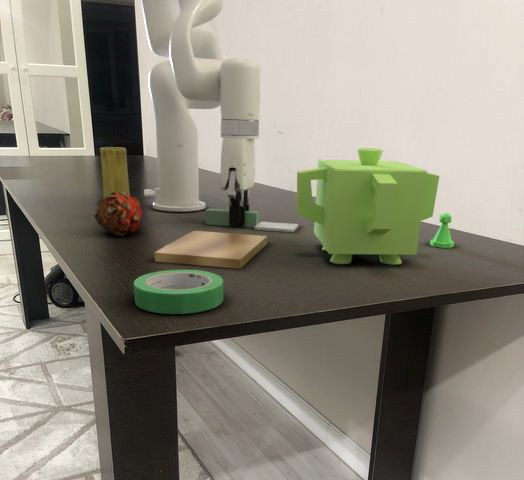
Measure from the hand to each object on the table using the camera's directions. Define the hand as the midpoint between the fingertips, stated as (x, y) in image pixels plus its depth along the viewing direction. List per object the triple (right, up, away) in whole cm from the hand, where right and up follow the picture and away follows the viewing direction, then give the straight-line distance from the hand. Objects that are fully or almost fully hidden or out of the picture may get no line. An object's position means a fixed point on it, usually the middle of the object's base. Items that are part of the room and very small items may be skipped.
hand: (239, 223), depth 117 cm
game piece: (+38, -7, -13) cm, 41 cm away
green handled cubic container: (+21, -10, -21) cm, 32 cm away
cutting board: (-3, -10, -22) cm, 24 cm away
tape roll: (-6, -20, -46) cm, 50 cm away
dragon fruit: (-23, -4, -9) cm, 25 cm away
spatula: (+2, -1, 0) cm, 3 cm away
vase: (-27, +3, +6) cm, 28 cm away
